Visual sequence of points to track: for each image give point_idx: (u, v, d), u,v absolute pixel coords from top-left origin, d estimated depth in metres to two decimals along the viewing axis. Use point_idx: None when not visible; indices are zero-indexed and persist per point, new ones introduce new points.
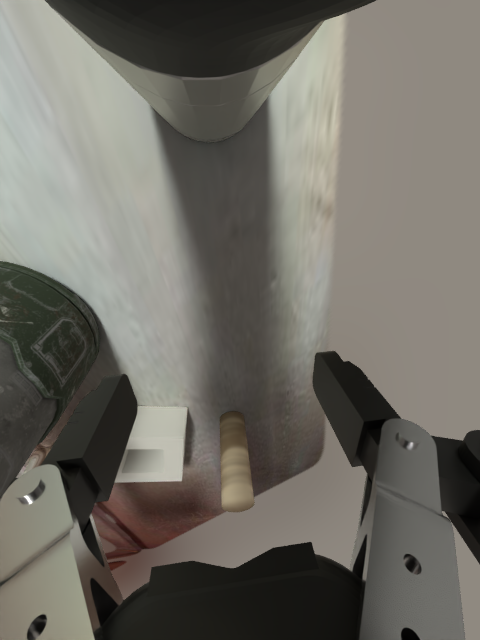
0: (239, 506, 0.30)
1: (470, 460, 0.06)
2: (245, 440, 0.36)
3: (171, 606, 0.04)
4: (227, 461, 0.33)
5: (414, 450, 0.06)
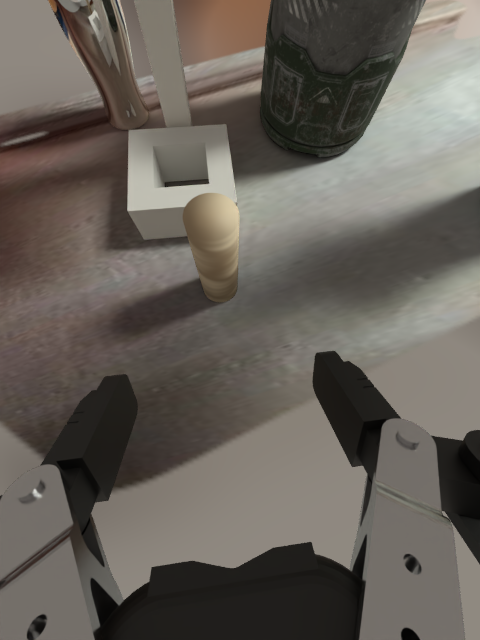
0: (205, 218, 0.17)
1: (470, 460, 0.06)
2: (232, 280, 0.24)
3: (171, 606, 0.04)
4: None
5: (414, 450, 0.06)
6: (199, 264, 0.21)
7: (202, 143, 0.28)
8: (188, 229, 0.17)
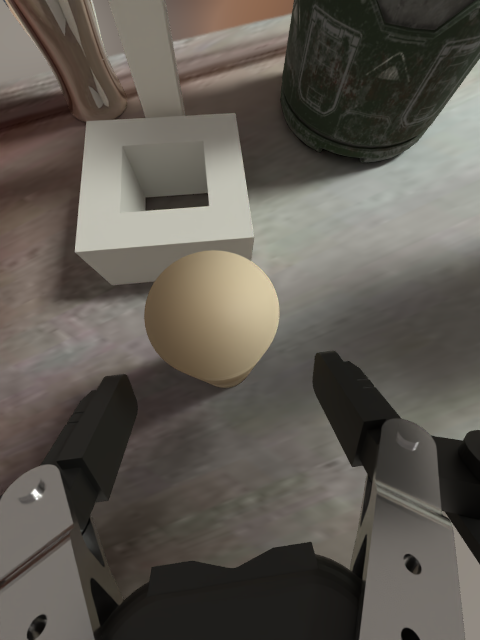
0: (198, 317, 0.07)
1: (470, 460, 0.06)
2: (247, 375, 0.14)
3: (171, 606, 0.04)
4: None
5: (414, 450, 0.06)
6: None
7: (198, 141, 0.19)
8: (157, 347, 0.07)
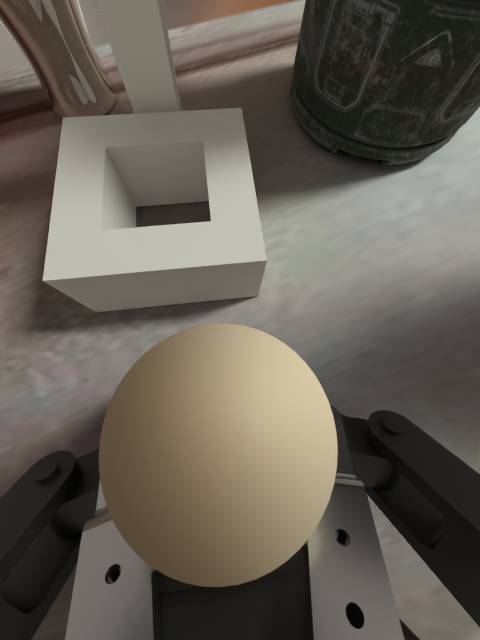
0: (194, 455, 0.04)
1: (376, 443, 0.07)
2: None
3: (171, 606, 0.04)
4: None
5: None
6: None
7: (197, 142, 0.15)
8: (119, 520, 0.04)
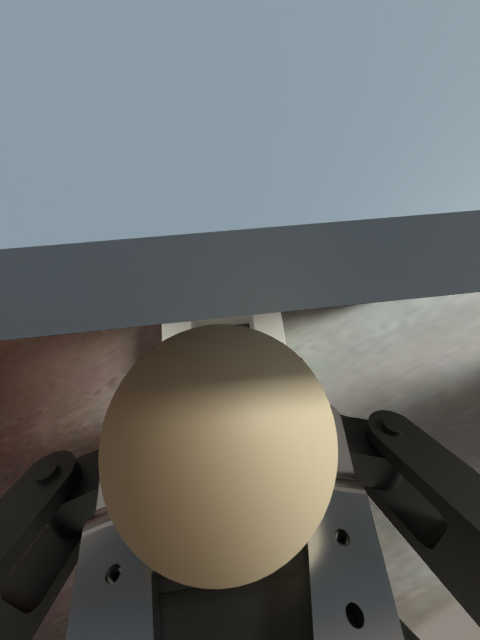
0: (194, 457, 0.04)
1: (376, 443, 0.07)
2: None
3: (171, 606, 0.04)
4: None
5: None
6: None
7: None
8: (119, 522, 0.04)
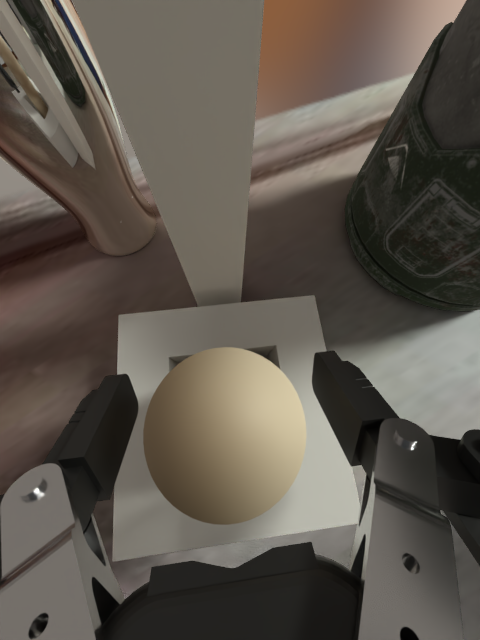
0: (208, 440, 0.06)
1: (468, 459, 0.06)
2: None
3: (171, 606, 0.04)
4: None
5: (412, 449, 0.06)
6: None
7: (270, 345, 0.14)
8: (158, 482, 0.06)
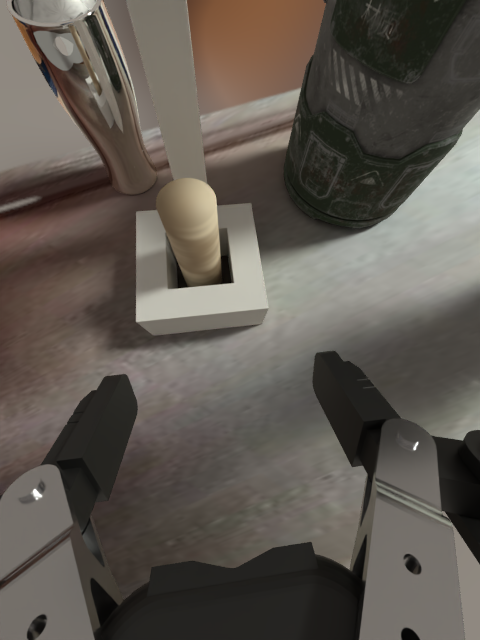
0: (179, 204, 0.16)
1: (470, 460, 0.06)
2: (214, 274, 0.23)
3: (171, 606, 0.04)
4: None
5: (414, 450, 0.06)
6: (178, 255, 0.20)
7: (223, 228, 0.24)
8: (161, 215, 0.16)
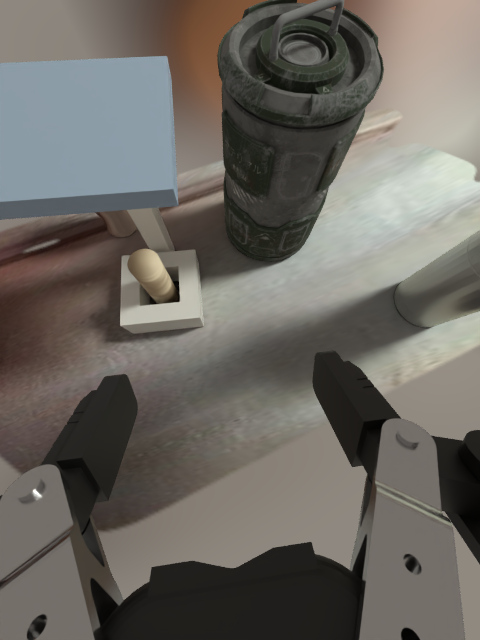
0: (140, 264, 0.31)
1: (470, 460, 0.06)
2: (169, 296, 0.37)
3: (171, 606, 0.04)
4: None
5: (414, 450, 0.06)
6: (143, 287, 0.34)
7: (176, 266, 0.38)
8: (130, 270, 0.30)
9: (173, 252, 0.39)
